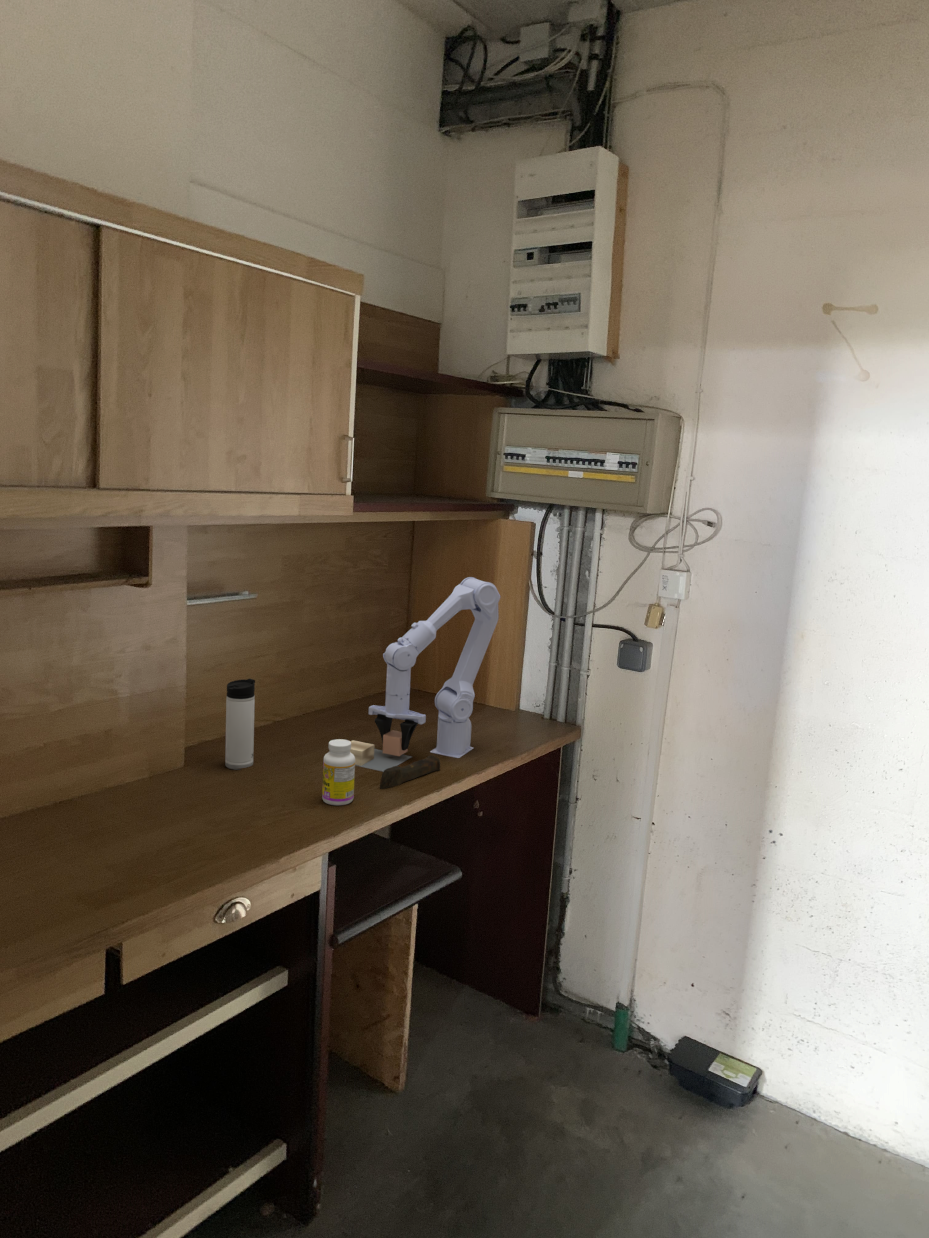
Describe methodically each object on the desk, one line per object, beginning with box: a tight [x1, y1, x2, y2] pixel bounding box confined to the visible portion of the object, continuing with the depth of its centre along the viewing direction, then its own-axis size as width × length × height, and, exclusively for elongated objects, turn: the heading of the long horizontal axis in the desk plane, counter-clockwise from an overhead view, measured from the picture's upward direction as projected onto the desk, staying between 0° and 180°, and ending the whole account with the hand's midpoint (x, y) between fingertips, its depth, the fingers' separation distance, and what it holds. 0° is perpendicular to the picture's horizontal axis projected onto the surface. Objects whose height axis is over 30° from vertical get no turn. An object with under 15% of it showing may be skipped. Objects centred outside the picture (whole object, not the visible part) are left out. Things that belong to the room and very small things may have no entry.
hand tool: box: [379, 755, 441, 790], centre depth 208 cm, size 19×4×5 cm, turn 141°
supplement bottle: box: [321, 738, 356, 806], centre depth 192 cm, size 7×7×13 cm
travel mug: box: [224, 678, 256, 771], centre depth 209 cm, size 6×7×20 cm
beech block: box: [349, 739, 375, 767], centre depth 217 cm, size 6×6×4 cm
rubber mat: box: [355, 748, 412, 773], centre depth 219 cm, size 13×14×1 cm
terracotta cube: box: [382, 729, 409, 756], centre depth 221 cm, size 4×4×4 cm
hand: (395, 747), depth 221 cm, fingers closed on terracotta cube, 4 cm apart
